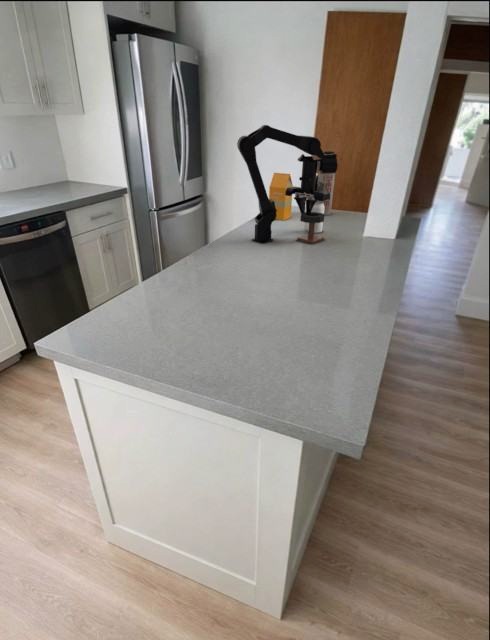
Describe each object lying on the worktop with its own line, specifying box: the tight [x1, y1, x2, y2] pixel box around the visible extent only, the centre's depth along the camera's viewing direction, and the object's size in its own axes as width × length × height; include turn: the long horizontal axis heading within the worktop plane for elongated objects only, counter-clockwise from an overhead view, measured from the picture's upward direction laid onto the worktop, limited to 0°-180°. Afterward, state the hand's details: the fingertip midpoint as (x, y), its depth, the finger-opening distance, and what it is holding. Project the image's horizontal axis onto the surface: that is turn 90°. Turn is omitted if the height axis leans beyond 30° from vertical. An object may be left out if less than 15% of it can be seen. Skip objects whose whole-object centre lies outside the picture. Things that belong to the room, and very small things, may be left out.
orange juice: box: [268, 172, 294, 221], centre depth 205 cm, size 8×9×20 cm
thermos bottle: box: [317, 150, 336, 216], centre depth 209 cm, size 8×8×28 cm
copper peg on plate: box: [296, 223, 325, 245], centre depth 175 cm, size 8×8×8 cm
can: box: [307, 201, 325, 234], centre depth 185 cm, size 6×6×12 cm
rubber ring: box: [300, 211, 325, 224], centre depth 172 cm, size 9×10×2 cm
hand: (305, 216), depth 174 cm, fingers closed on rubber ring, 2 cm apart
